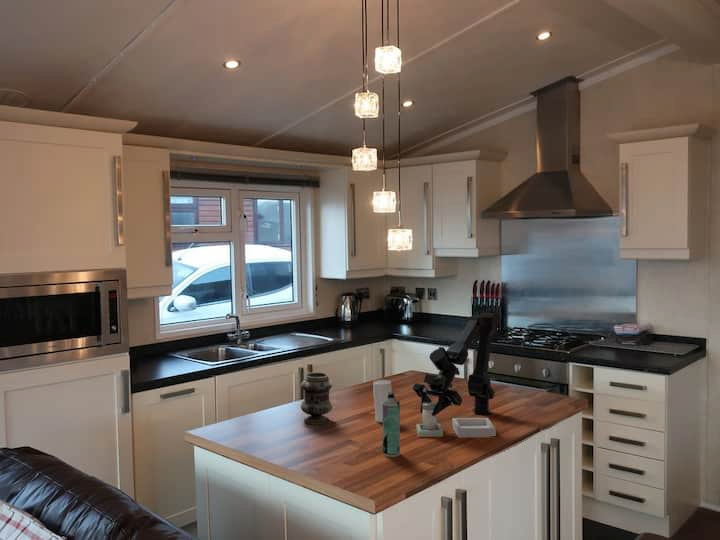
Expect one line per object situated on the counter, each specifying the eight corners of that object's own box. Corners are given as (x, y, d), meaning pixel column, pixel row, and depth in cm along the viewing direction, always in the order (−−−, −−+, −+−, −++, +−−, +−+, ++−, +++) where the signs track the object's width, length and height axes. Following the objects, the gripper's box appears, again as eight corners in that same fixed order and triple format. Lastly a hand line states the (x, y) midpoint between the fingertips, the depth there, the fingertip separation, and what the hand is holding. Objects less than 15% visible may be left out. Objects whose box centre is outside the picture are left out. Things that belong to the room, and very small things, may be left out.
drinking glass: (370, 419, 239) (370, 380, 238) (387, 417, 242) (386, 379, 241) (377, 424, 233) (377, 384, 232) (394, 422, 235) (394, 383, 235)
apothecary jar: (328, 426, 231) (327, 378, 230) (296, 424, 233) (296, 377, 232) (335, 417, 243) (335, 371, 242) (306, 415, 245) (305, 370, 244)
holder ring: (416, 429, 227) (416, 423, 227) (439, 429, 227) (439, 423, 227) (418, 436, 218) (418, 431, 218) (443, 436, 218) (443, 431, 218)
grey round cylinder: (421, 429, 225) (421, 402, 224) (435, 429, 225) (435, 401, 225) (423, 433, 220) (423, 405, 220) (437, 433, 220) (437, 405, 220)
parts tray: (452, 426, 230) (452, 418, 230) (487, 425, 231) (487, 417, 230) (458, 437, 217) (458, 429, 217) (495, 437, 218) (495, 428, 217)
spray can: (398, 451, 204) (398, 390, 203) (400, 457, 199) (400, 395, 198) (382, 451, 204) (382, 391, 203) (383, 457, 199) (383, 395, 198)
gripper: (415, 361, 230) (396, 396, 223) (457, 368, 218) (439, 406, 210) (428, 378, 237) (410, 413, 229) (470, 386, 224) (452, 424, 217)
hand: (427, 414), depth 221 cm, fingers closed on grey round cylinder, 5 cm apart
